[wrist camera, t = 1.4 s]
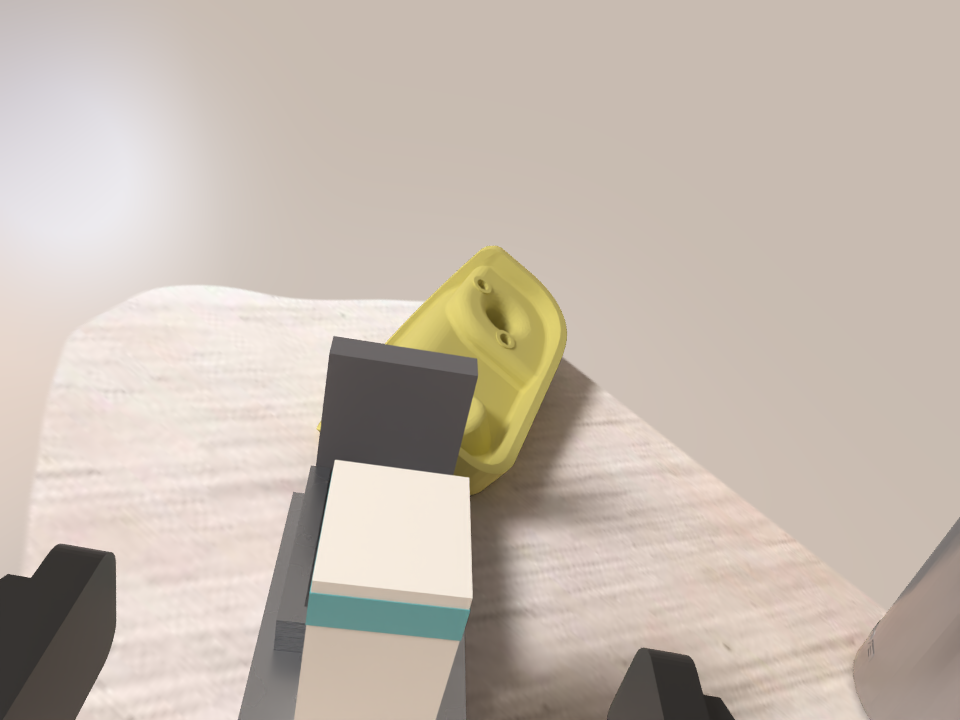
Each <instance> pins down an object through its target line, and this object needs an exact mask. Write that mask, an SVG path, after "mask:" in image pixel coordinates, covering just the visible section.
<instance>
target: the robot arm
mask: <svg viewBox="0 0 960 720" xmlns="http://www.w3.org/2000/svg"><path fill="white" fill-rule="evenodd" d="M115 628H116V560H115V555H114V554H113V553H112V552H106V551H101V550H95V549H89V548H84V547H78V546H72V545H67V544H58V545H56V546H55V547H54V548H53V549H52V550H51V551H50V552H49V554H48V555H47V556H46V558H45V559H44V561H43V562H42V563H41V565H40V566H39V568H38V569H37V570H36V572H35V573H34V575H33V576H32V577H31V578H28V577H22V576H16V575H10V574H7V575H6V576H4V577H3V578H1V579H0V720H75V719H76V717H77V715H78V713H79V711H80V709H81V707H82V706H83V704H84V702H85V700H86V698H87V696H88V694H89V692H90V690H91V689H92V687H93V685H94V683H95V681H96V679H97V677H98V675H99V673H100V671H101V670H102V668H103V666H104V664H105V661H106V659H107V657H108V654H109V651H110V648H111V645H112V642H113V638H114V633H115ZM853 678H854V682H855V687H856V691H857V694H858V696H859V699H860V701H861V703H862V706H863V708H864V710H865V712H866V714H867V715H868V717H869V718H870V720H960V518H959V519H958V520H957V522H956V523H955V524H954V525H953V527H952V528H951V530H950V531H949V532H948V533H947V535H946V536H945V537H944V539H943V540H942V541H941V542H940V544H939V545H938V546H937V548H936V549H935V550H934V552H933V553H932V554H931V556H930V557H929V558H928V559H927V561H926V562H925V563H924V565H923V566H922V568H921V569H920V570H919V571H918V573H917V574H916V576H915V577H914V578H913V579H912V580H911V582H910V583H909V584H908V586H907V587H906V588H905V590H904V591H903V592H902V593H901V595H900V596H899V597H898V599H897V600H896V602H895V603H894V604H893V606H892V607H891V608H890V609H889V611H888V612H887V613H886V615H885V616H884V617H883V618H882V619H881V620H880V621H879V622H878V623H877V625H876V626H875V627H874V628H873V630H872V631H871V633H870V635H869V637H868V638H867V639H866V641H865V642H864V643H863V645H862V646H861V647H860V649H859V650H858V652H857V655H856V657H855V660H854V666H853ZM607 720H735V719H734V718H733V716H732V715H731V713H730V712H729V710H728V709H727V707H726V706H725V704H724V703H723V701H722V700H721V698H719V697H713V696H707V695H703V692H702V688H701V685H700V681H699V677H698V673H697V670H696V667H695V664H694V662H693V660H692V659H691V657H689V656H687V655H682V654H677V653H671V652H665V651H660V650H654V649H648V648H641V649H639V650H638V652H637V653H636V655H635V657H634V659H633V661H632V663H631V665H630V667H629V669H628V671H627V673H626V675H625V677H624V679H623V681H622V683H621V686H620V688H619V690H618V692H617V694H616V696H615V698H614V700H613V702H612V704H611V706H610V709H609V712H608V716H607Z"/></svg>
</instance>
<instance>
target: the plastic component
mask: <svg viewBox="0 0 960 720" xmlns="http://www.w3.org/2000/svg"><path fill="white" fill-rule="evenodd" d="M566 341H567V329H566V323H565V319H564V316H563V314H562V311H561V310H560V307H559V306H558V304H557V302H556V301H555V299H554V298H553V296H552V295H551V293H550V292H549V291H548V290H547V288H546V287H545V286H544V285H543V284H542V283H541V282H540V281H539V280H538V279H537V278H536V277H535V276H534V275H533V274H532V273H530V272H529V271H528V270H527V269H526V268H525V267H523V266H522V265H521V264H520V263H519V262H518V261H516V260H515V259H514V258H513V257H512V256H510V255H509V254H508V253H507V252H505V250H503V249H502V248H501V247H498V246H487V247H485V248H483V249H481V250H480V251H479V252H478V253H476V254H475V255H474V256H473V257H472V258H471V259H470V260H469V261H468V262H466V263H465V264H464V265H463V266H462V267H461V268H460V269H459V270H458V271H457V272H456V273H454V274H453V275H452V276H451V277H450V278H449V279H448V280H447V281H446V282H445V283H444V284H443V285H442V286H441V287H440V288H439V289H438V290H437V291H436V292H435V293H434V294H433V295H432V296H430V297H429V298H428V299H427V300H426V301H425V302H424V303H423V304H422V305H421V306H420V307H419V308H418V309H417V310H416V311H415V312H414V313H413V314H412V315H411V317H410V318H409V319H408V320H407V321H406V322H405V323H404V324H403V325H402V326H401V327H400V328H399V329H398V330H397V331H396V332H395V333H394V334H393V335H392V337H391V338H390V339H389V340H388V341H387V342H386V343H385V344H387V345H394V346H400V347H406V348H413V349H419V350H426V351H432V352H439V353H445V354H451V355H458V356H464V357H471V358H477V362H478V379H477V383H476V387H475V391H474V395H473V399H472V403H471V407H470V411H469V415H468V419H467V423H466V427H465V431H464V435H463V439H462V443H461V447H460V451H459V454H458V458H457V462H456V466H455V470H454V474H453V476H461V477H468V478H469V488H470V495H473V494H477V493H479V492H481V491H482V490H484V489H485V488H486V487H487V486H489V485H490V484H491V483H493V482H494V481H495V480H496V479H498V478H499V477H500V476H501V475H503V474H504V473H505V472H507V471H508V470H509V469H510V468H511V467H512V466H513V465H514V463H515V460H516V458H517V456H518V454H519V452H520V449H521V447H522V445H523V443H524V441H525V438H526V436H527V434H528V432H529V430H530V427H531V425H532V423H533V421H534V419H535V416H536V414H537V412H538V410H539V408H540V405H541V403H542V401H543V399H544V397H545V394H546V392H547V390H548V388H549V386H550V383H551V381H552V379H553V377H554V375H555V372H556V370H557V368H558V365H559V363H560V361H561V358H562V356H563V352H564V349H565V345H566ZM321 421H322V420H321ZM320 429H321V422H320V423H319V425H318V426H317V430H318V431H319V432H320Z"/></svg>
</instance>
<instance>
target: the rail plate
mask: <svg viewBox="0 0 960 720" xmlns="http://www.w3.org/2000/svg"><path fill="white" fill-rule="evenodd" d="M330 471H331V468H325V467H318V466H311V468H310V473H309V477H308V482H307V486H306V490H305V494H304V493H296V492H293V495H292V500H291V504H290V508H289V512H288V516H287V520H286V524H285V528H284V532H283V537H282V541H281V545H280V549H279V553H278V557H277V561H276V565H275V569H274V574H273V578H272V582H271V586H270V590H269V594H268V598H267V602H266V606H265V611H264V615H263V619H262V623H261V627H260V631H259V635H258V639H257V643H256V648H255V652H254V656H253V660H252V664H251V668H250V672H249V676H248V680H247V685H246V689H245V693H244V697H243V701H242V705H241V709H240V713H239V717H238V720H294V716H295V709H296V701H297V693H298V686H299V678H300V670H301V662H302V655H303V647H304V639H305V632H306V625H305V623H306V615H307V608H308V600H309V592H310V587H311V582H312V577H313V571H314V566H315V561H316V555H317V550H318V545H319V540H320V534H321V529H322V524H323V518H324V513H325V508H326V502H327V493H328V485H329V478H330ZM436 720H466V682H465V630H464V633H463V636H462V639H461V641H460V642H459V645H458V648H457V651H456V655H455V658H454V661H453V665H452V668H451V671H450V674H449V678H448V681H447V684H446V687H445V691H444V694H443V697H442V701H441V704H440V707H439V710H438V714H437V717H436Z"/></svg>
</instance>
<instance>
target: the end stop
mask: <svg viewBox="0 0 960 720" xmlns="http://www.w3.org/2000/svg"><path fill="white" fill-rule="evenodd" d="M477 379H478V362H477V358H471V357H464V356H458V355H451V354H445V353H439V352H432V351H426V350H419V349H413V348H406V347H400V346H394V345H387V344H381V343H374V342H368V341H362V340H355V339H349V338H342V337H336V336H334V337H333V341H332V345H331V349H330V354H329V362H328V370H327V379H326V387H325V396H324V404H323V412H322V421H321V429H320V437H319V446H318V454H317V462H316V466H318V467H325V468H331V471H330V478H329V485H328V492H329V487H330V481H331V476H332V471H333V467H334V462H335V460H341V461H349V462H356V463H364V464H371V465H378V466H386V467H393V468H401V469H408V470H416V471H423V472H431V473H438V474H446V475H453V474H454V470H455V466H456V462H457V458H458V454H459V451H460V447H461V443H462V439H463V435H464V431H465V427H466V423H467V419H468V415H469V411H470V407H471V403H472V399H473V395H474V391H475V387H476V383H477ZM327 497H328V493H327Z"/></svg>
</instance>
